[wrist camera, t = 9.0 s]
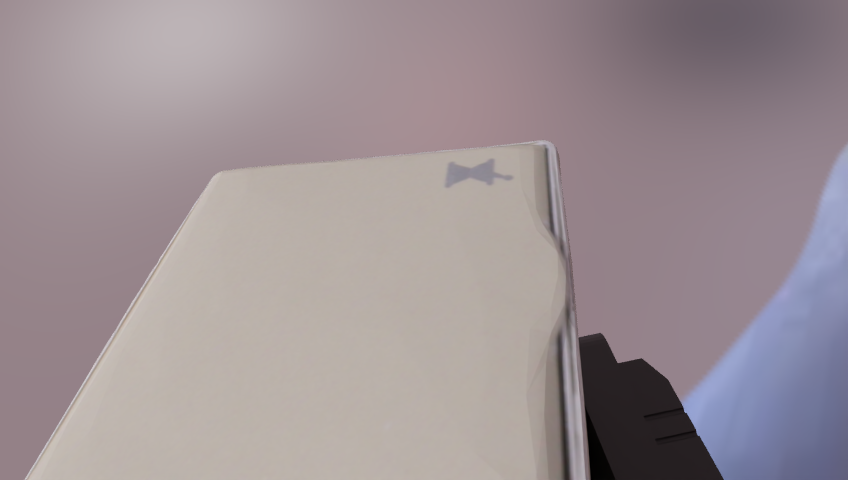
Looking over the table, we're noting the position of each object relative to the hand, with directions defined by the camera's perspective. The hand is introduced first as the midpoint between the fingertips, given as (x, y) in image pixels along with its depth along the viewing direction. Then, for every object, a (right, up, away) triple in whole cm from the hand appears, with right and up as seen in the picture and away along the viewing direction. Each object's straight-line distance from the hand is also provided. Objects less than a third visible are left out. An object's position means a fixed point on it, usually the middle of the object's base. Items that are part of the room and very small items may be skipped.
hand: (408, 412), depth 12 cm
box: (+1, -6, +1) cm, 7 cm away
